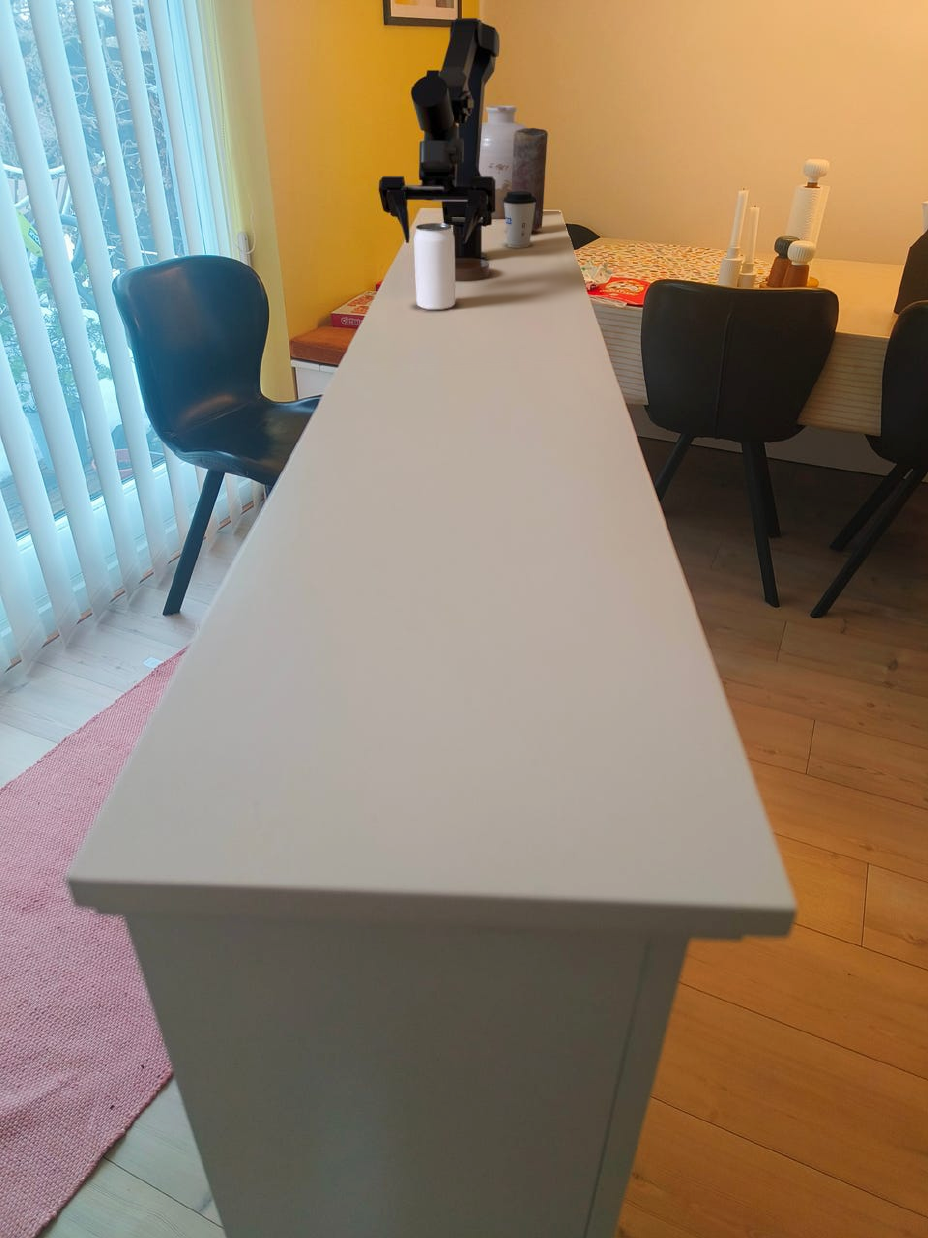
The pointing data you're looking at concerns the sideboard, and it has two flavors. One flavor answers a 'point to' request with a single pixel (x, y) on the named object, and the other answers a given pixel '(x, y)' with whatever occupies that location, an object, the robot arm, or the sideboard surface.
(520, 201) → the coffee cup
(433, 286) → the can
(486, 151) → the vase
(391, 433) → the sideboard surface
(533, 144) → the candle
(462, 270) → the coaster
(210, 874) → the sideboard surface
